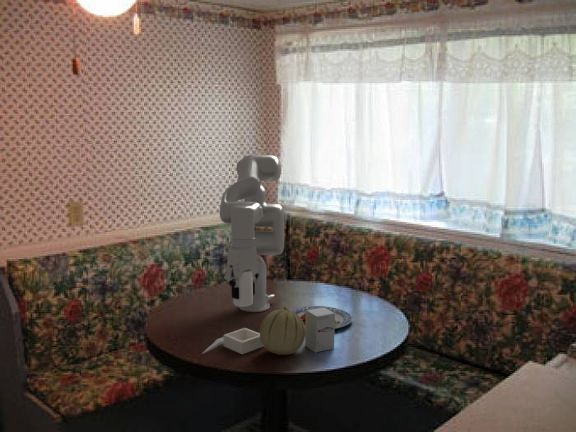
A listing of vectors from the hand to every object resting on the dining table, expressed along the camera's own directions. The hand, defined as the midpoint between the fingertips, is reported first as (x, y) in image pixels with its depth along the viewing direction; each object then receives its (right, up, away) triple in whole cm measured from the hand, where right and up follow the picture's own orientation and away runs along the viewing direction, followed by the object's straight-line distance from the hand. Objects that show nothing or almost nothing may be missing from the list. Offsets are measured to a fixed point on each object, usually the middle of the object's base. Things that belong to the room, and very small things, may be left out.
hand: (243, 295), depth 191 cm
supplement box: (+25, -18, +2) cm, 31 cm away
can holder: (0, -17, +3) cm, 18 cm away
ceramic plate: (+26, -14, +27) cm, 40 cm away
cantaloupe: (+13, -19, -3) cm, 23 cm away
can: (0, -3, 0) cm, 3 cm away
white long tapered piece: (-10, -18, +3) cm, 20 cm away
